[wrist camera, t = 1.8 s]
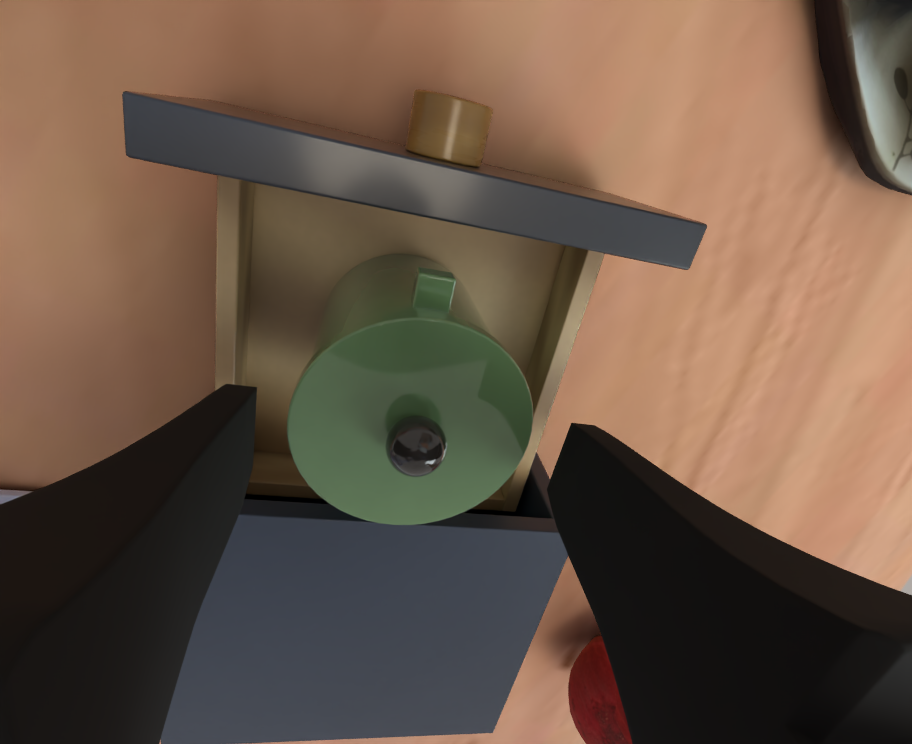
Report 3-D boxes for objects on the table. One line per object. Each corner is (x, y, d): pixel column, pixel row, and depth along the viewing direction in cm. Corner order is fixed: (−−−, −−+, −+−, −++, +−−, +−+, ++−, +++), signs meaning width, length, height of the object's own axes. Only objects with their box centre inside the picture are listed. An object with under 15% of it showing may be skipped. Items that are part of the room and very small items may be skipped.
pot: (306, 405, 18) (267, 576, 11) (326, 211, 15) (290, 286, 8) (458, 421, 20) (504, 584, 13) (504, 246, 17) (595, 335, 10)
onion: (530, 647, 30) (580, 814, 22) (603, 591, 28) (681, 749, 21) (589, 678, 32) (650, 837, 25) (659, 628, 31) (745, 781, 24)
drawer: (208, 44, 14) (114, 1, 9) (625, 151, 17) (734, 165, 12) (207, 440, 20) (148, 554, 14) (519, 467, 23) (562, 569, 17)
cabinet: (210, 398, 19) (146, 509, 14) (527, 431, 22) (577, 533, 17) (208, 604, 24) (160, 747, 19) (468, 609, 27) (493, 733, 22)
